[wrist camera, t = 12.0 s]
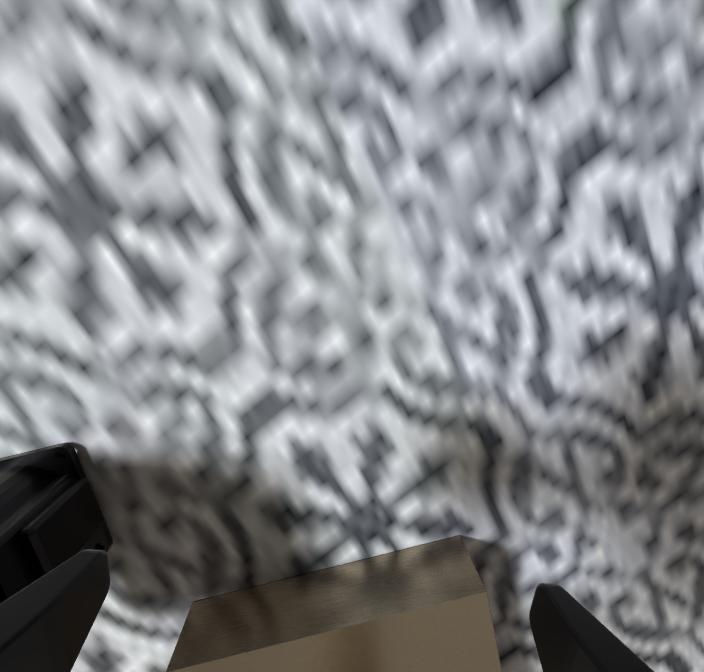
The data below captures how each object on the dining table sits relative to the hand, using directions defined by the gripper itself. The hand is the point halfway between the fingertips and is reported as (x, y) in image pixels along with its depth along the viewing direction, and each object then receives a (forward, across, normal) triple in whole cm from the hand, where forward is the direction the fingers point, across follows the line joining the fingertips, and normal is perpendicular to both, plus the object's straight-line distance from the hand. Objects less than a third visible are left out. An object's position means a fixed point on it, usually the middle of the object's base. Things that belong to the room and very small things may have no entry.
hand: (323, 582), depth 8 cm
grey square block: (+12, -3, +20) cm, 23 cm away
